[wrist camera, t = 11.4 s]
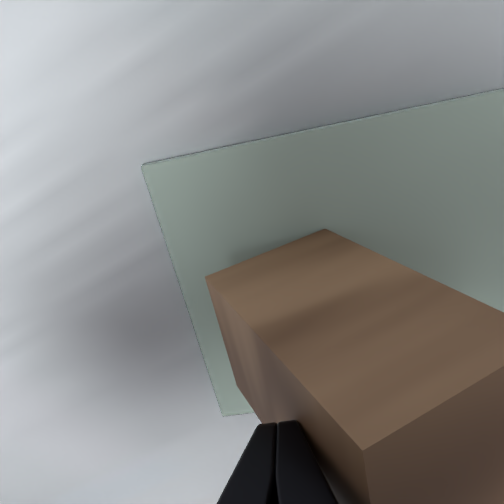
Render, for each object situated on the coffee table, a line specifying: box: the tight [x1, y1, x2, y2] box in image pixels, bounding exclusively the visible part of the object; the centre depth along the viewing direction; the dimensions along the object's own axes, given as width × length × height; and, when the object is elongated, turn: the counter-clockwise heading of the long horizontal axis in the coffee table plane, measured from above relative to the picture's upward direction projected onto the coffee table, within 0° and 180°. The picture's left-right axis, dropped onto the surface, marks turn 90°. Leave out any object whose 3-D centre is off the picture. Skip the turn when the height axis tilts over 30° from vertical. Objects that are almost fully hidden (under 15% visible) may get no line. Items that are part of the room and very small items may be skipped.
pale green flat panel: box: [141, 88, 504, 417], centre depth 14 cm, size 10×14×1 cm
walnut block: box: [205, 229, 504, 504], centre depth 11 cm, size 4×4×7 cm
